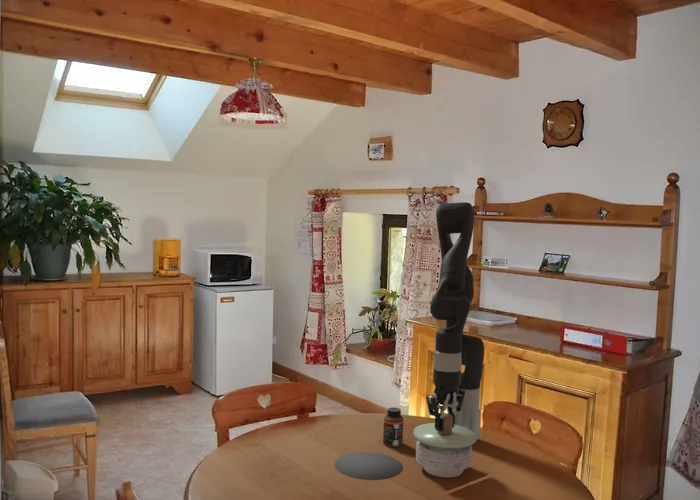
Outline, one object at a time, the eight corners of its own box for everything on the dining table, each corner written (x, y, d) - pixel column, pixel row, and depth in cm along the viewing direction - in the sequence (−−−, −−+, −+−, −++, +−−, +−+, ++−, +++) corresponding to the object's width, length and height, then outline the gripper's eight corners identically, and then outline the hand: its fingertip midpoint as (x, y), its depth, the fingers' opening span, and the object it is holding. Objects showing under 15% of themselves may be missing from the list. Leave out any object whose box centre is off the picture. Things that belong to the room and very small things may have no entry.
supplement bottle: (401, 450, 186) (402, 413, 185) (381, 448, 187) (382, 411, 186) (403, 443, 192) (405, 407, 191) (384, 441, 193) (385, 405, 192)
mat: (371, 449, 186) (371, 447, 186) (417, 470, 171) (417, 468, 171) (320, 464, 173) (320, 461, 173) (365, 488, 159) (365, 486, 159)
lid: (441, 422, 183) (442, 402, 182) (488, 439, 170) (489, 418, 169) (400, 433, 172) (401, 412, 171) (447, 453, 159) (448, 430, 158)
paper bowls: (431, 456, 182) (432, 430, 181) (480, 470, 173) (481, 442, 173) (404, 473, 170) (406, 444, 169) (455, 488, 161) (457, 458, 160)
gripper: (453, 361, 177) (451, 420, 178) (419, 367, 168) (416, 430, 169) (474, 366, 171) (471, 428, 172) (440, 373, 162) (437, 438, 163)
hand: (444, 428), depth 171 cm, fingers closed on lid, 4 cm apart
